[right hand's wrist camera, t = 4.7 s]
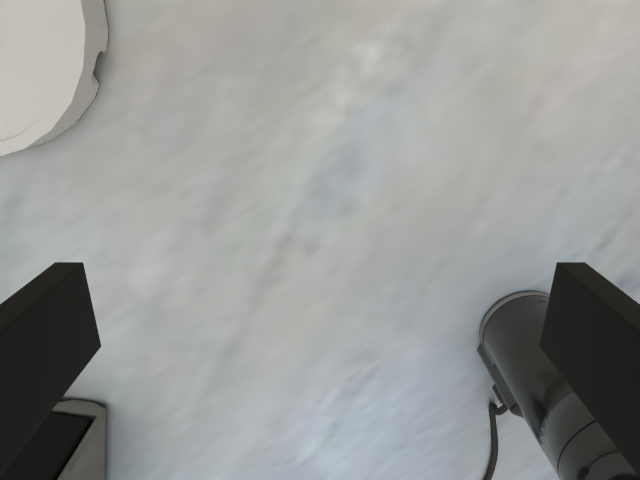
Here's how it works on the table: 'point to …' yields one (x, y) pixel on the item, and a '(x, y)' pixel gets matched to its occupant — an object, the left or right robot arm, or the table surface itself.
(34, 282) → the right robot arm
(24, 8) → the ashtray
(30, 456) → the electronic device
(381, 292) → the table surface
